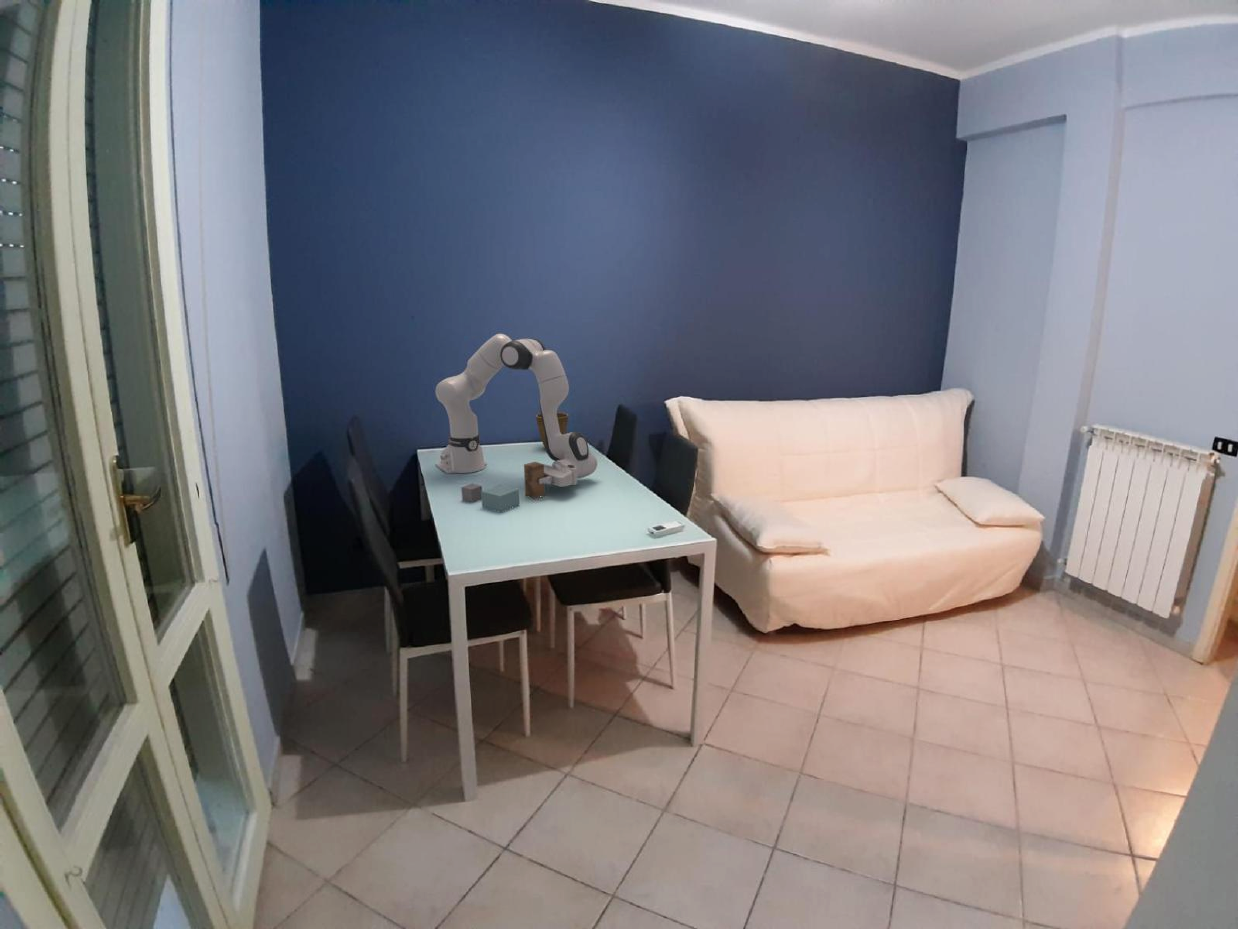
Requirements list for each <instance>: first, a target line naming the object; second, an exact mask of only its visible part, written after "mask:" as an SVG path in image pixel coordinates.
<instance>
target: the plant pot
mask: <svg viewBox="0 0 1238 929" xmlns="http://www.w3.org/2000/svg"><path fill="white" fill-rule="evenodd" d="M535 418H536V423H537V428H538V432H539V435H540V439H541V442H542V444H543V447H544V449H545V450H546V438H545V432H544V427H543V422H542V417H541V413H538V414H536V415H535ZM557 419H558V424H559V429H560V433H561V434H562V435H563V434H567V433H566V431H567V428H568V420H569V414H568V413H565V412H557Z"/></svg>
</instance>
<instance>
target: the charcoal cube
mask: <svg viewBox="0 0 1238 929" xmlns="http://www.w3.org/2000/svg"><path fill="white" fill-rule="evenodd" d="M481 491H483V485H479V484H475V483H469V484H467V485H466V484H465V485H464V486H461V497H462V498H461V500H462V501H464V500H465V502H467V501H468V502H467V503H471V504H472V503H473V504H474V503H475V501H476V502H478V501H477V500H479V501H482V495H481Z"/></svg>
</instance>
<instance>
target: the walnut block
mask: <svg viewBox="0 0 1238 929" xmlns="http://www.w3.org/2000/svg"><path fill="white" fill-rule="evenodd" d="M544 464H545V463H540V462H537V461H532V462H529V463H524V464H523V468H524V469H523V470H524V471H523V472H524V474H523V475H524V495H525V497H527V496H529V497H531V498H530V499H532V498H533V500H535V498H537V499H539V498H538V497H540V496H543V497H545V496H546V491H545V489H546V488H545V483H543V484H539V483H537V479H538V478H544ZM529 497H528V498H529ZM540 498H541V497H540Z"/></svg>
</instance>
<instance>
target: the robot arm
mask: <svg viewBox="0 0 1238 929" xmlns="http://www.w3.org/2000/svg"><path fill="white" fill-rule="evenodd" d="M466 364H467V366H466V368H465V369H464V371H463V372H461V373H460V374H458V375H454V376H451V377H446V378H445V379H442V380H441V381H440V382H439V383H437V385H436V386H435V396H436V398H437V400H438V402H439V403H441V404H442V405H443V406H444V408H445V411H446V413H447V416H448V422H449V432H450V433H449V434H450V435H448V436H447V440H448V445H446V447H445V448H444V449H443V450H441V453H440V460H439V461H436V462H435V466H436V467H437V468H438V469H440V470H441V471H444V472H445V473H447V474H455V473H456V474H458V473H459V474H466V473H468V474H469V473H475V472H479V471H481V470H483V469H484V468H485V466H487V461H485V459H484V451H483V447H482V445H480V443H481V437H480V434H479V425H478V424H479V423H478V417H477V414H475V413H474V412H473V411H472V407H471V406H470V401H473V400H476V399H478V398H480V397H481V396H482V395H483V394H484V393H485V392H486V387H487V386H488V383H489V382H490V381H491V379H492V378H493V377H494V376H495V375H496V374H497V373H498V372H499V371H500V370H501V369H502V368H503V367H504V366H505V367H506V368H508V369H511V370H517V371H518V370H519V371H520V370H521V371H523V370H524V371H526V370H529V369H530V370H531V371H532V372H533V373H534V375H535V378H536V381H537V385H538V388H539V395H540V398H539V400H540V401H539V410H540V414H541V417H542V422H543V427H544V432H545V438H546V449H545V452H546V454H547V457H549V458H550V459H551V460H552V461H553V462H552V464H551V465H548V464H545V463H543V464H544V478H538V479H537V483H539V484H543V483H544V484H551V485H554V486H557V487H560V488H561V487H563V488H565V487H568V486H575V485H577V484H578V479H583V478H585V477H588V476H590V475H592V474H594V473H595V471H596V470H597V466H598V460H597V457H596V455H595V454H594V453H592V451H591V449H590V448H589V445H588V441H587V440H588V439H587V438H586V436H585V435H584V434H583V433H582V432H580V431H572V432H567V433H565V434H563V435H562V434H561V433H560V429H559V424H558V419H557V413H558V408H559V407H560V406H561V404H562V403H563V402H564V401H565V399H566V398H567V397H568V395H569V391H570V385H569V381H568V378H567V375H566V372H565V368H564V366H563V364H562V362H561V360H560V358H559V356H558V354H557V353H556V352H555V351H553V350H550V349H547V348H546V346H545V344H544V343H543V342H542V341H540V339H539V340H538V339H536V338H520V339H516V340H512V339H511V338H510V337H509V336H508V335H506V334H504V333H497V334H495V335H493V336H492V337H490V338H489V339H488V340H486V341H485V343H483V344H482V345H481V346H480V347H479V348H478V349H477V351H475V353H474V354H473V355H472V356H471V357H470V358H469V359H468V361H467V362H466Z"/></svg>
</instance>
